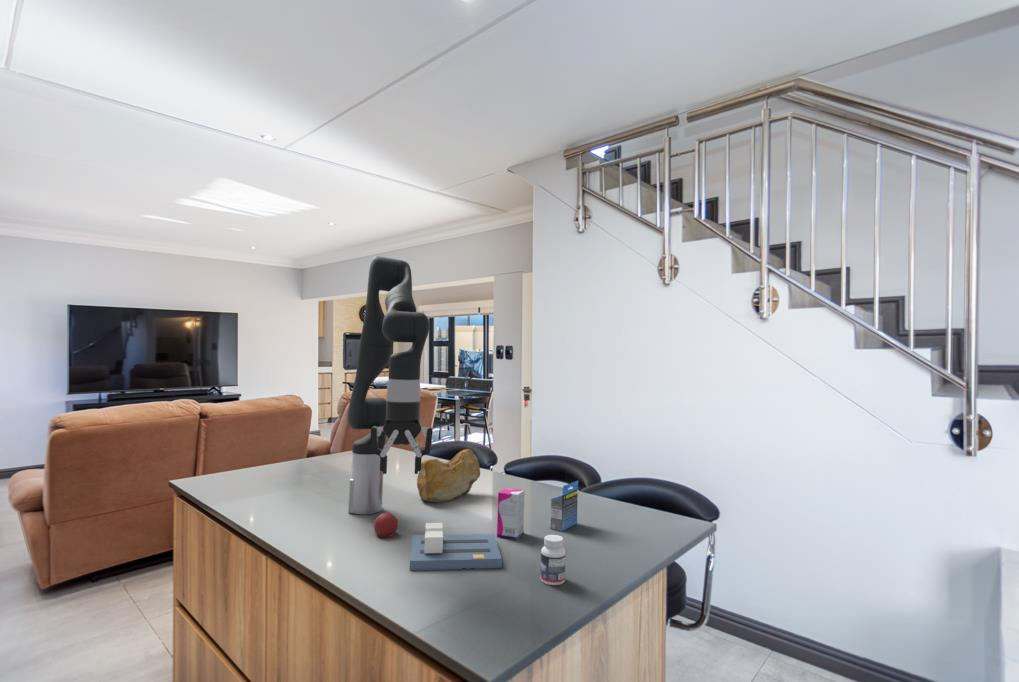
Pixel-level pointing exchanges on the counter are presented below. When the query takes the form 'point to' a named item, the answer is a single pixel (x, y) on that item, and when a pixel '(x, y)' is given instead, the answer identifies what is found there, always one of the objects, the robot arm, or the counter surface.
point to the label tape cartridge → (564, 508)
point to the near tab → (433, 542)
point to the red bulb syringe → (385, 525)
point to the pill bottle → (553, 560)
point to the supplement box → (510, 513)
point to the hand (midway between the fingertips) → (400, 473)
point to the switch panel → (457, 553)
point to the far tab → (434, 527)
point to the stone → (448, 477)
